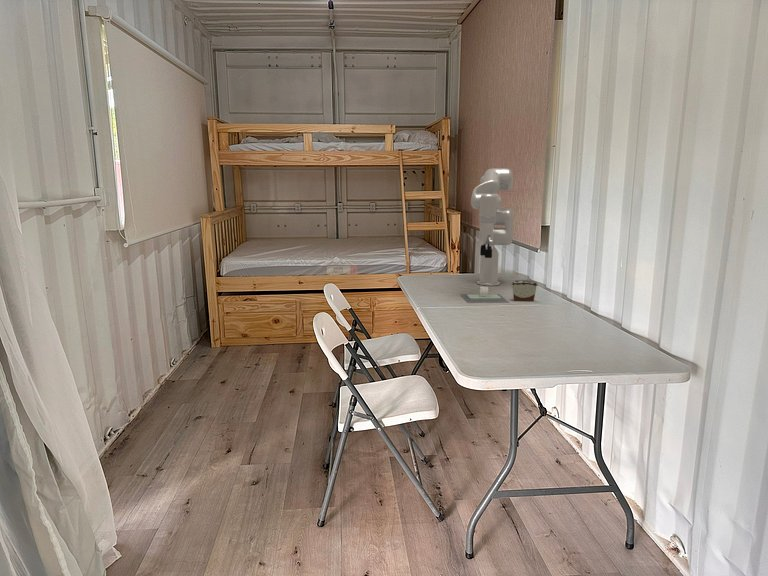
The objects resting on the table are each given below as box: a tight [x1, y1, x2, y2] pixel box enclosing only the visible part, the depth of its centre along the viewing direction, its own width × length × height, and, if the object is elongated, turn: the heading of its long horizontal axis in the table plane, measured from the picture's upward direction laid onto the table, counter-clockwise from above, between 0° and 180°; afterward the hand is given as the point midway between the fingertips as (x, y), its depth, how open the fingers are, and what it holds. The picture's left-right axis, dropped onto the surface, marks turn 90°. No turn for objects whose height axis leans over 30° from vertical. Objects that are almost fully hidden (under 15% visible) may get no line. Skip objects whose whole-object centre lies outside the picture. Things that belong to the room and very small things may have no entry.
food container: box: [510, 279, 539, 302], centre depth 254 cm, size 12×6×10 cm, turn 84°
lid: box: [466, 285, 501, 300], centre depth 257 cm, size 9×15×6 cm, turn 92°
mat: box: [459, 293, 511, 304], centre depth 258 cm, size 20×20×1 cm
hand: (485, 256), depth 254 cm, fingers open, 9 cm apart
